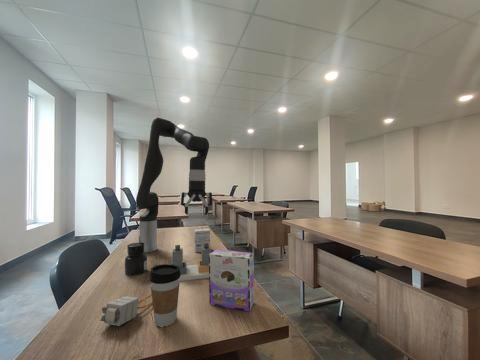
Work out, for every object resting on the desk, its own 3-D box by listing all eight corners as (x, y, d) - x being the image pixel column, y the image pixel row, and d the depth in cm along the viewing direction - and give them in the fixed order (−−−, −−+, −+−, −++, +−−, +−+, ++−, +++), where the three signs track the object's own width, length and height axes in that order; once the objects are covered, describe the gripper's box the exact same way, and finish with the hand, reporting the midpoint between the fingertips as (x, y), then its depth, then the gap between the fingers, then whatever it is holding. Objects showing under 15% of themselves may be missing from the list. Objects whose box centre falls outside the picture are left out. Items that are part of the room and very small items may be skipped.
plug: (202, 270, 95) (201, 245, 95) (201, 267, 99) (201, 242, 99) (211, 270, 96) (211, 244, 96) (210, 266, 100) (210, 241, 100)
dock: (162, 282, 87) (162, 250, 87) (165, 270, 99) (165, 242, 99) (221, 276, 93) (220, 246, 93) (217, 265, 104) (217, 239, 104)
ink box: (209, 248, 131) (208, 228, 131) (210, 251, 126) (210, 230, 126) (194, 249, 129) (194, 229, 129) (194, 252, 124) (194, 231, 124)
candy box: (254, 302, 73) (254, 252, 73) (249, 312, 67) (249, 258, 67) (216, 295, 77) (215, 248, 77) (208, 304, 72) (208, 253, 72)
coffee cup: (154, 312, 68) (154, 263, 68) (183, 311, 68) (182, 261, 68) (145, 331, 59) (145, 274, 59) (178, 329, 60) (177, 273, 60)
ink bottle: (151, 271, 98) (150, 244, 98) (130, 278, 92) (129, 249, 92) (141, 266, 105) (141, 240, 105) (121, 271, 98) (121, 244, 98)
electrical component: (154, 297, 83) (156, 283, 84) (168, 299, 81) (170, 284, 82) (99, 324, 60) (102, 304, 61) (117, 328, 59) (120, 307, 60)
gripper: (211, 179, 109) (211, 213, 109) (181, 179, 106) (181, 213, 106) (213, 180, 102) (212, 215, 102) (180, 179, 99) (180, 216, 99)
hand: (196, 214), depth 104 cm, fingers open, 8 cm apart
